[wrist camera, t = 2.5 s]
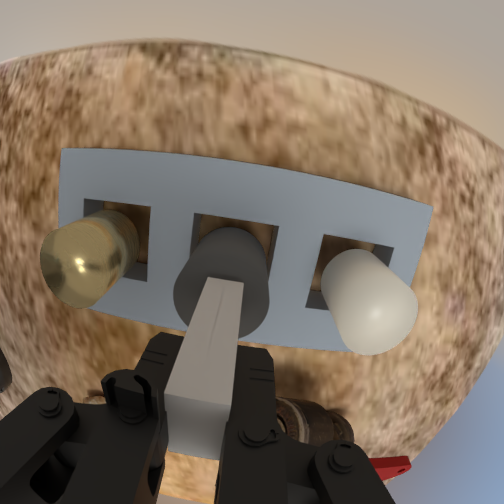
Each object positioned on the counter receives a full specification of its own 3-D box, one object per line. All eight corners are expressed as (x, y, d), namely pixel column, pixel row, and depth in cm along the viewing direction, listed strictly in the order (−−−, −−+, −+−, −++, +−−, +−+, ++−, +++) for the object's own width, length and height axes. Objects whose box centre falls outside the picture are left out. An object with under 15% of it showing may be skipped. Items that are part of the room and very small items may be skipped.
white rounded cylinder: (313, 306, 18) (329, 353, 14) (330, 243, 17) (356, 275, 12) (371, 313, 19) (399, 355, 14) (391, 254, 17) (429, 286, 12)
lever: (297, 486, 33) (300, 519, 27) (309, 461, 30) (315, 500, 24) (395, 471, 34) (404, 499, 27) (418, 443, 31) (432, 474, 24)
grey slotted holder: (82, 286, 22) (65, 301, 19) (83, 147, 18) (61, 148, 16) (371, 333, 23) (382, 353, 20) (413, 199, 19) (433, 206, 17)
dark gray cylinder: (191, 288, 18) (171, 331, 13) (198, 221, 17) (176, 247, 12) (259, 299, 18) (260, 346, 14) (271, 233, 17) (278, 263, 12)
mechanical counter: (260, 351, 24) (262, 445, 14) (375, 381, 25) (408, 455, 16) (232, 400, 26) (224, 484, 16) (338, 423, 27) (356, 494, 18)
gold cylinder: (85, 267, 18) (45, 298, 13) (84, 205, 16) (37, 223, 12) (139, 278, 18) (106, 316, 13) (142, 213, 17) (103, 234, 12)
